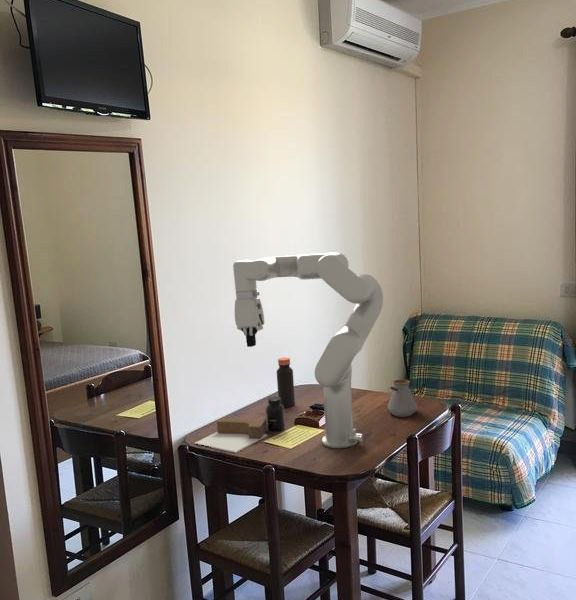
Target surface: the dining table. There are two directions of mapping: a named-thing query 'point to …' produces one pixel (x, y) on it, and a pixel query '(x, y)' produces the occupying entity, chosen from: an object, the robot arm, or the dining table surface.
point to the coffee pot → (401, 399)
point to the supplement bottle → (275, 415)
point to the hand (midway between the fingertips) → (251, 345)
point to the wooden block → (242, 426)
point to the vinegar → (285, 382)
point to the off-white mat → (228, 441)
